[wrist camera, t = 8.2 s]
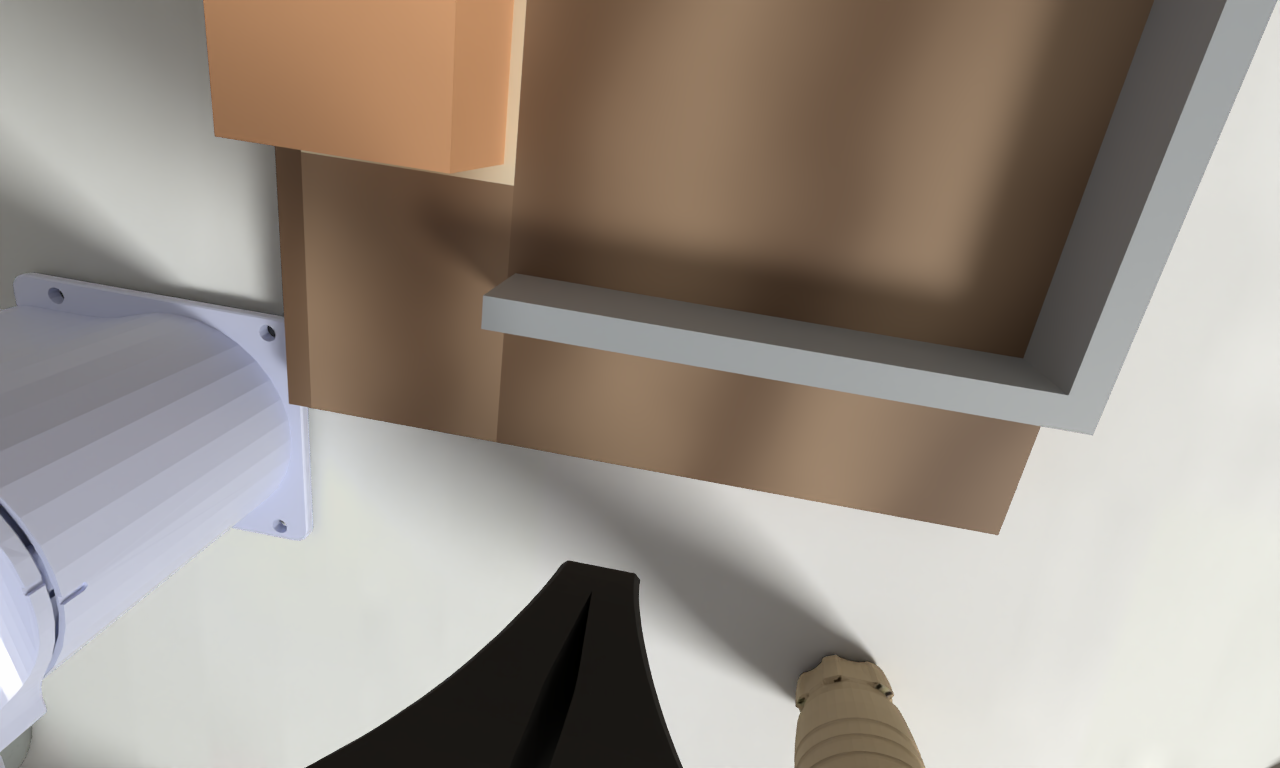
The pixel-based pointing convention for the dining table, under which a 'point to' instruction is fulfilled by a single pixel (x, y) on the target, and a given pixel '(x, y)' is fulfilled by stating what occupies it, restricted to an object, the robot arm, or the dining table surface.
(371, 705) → the dining table surface
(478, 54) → the block
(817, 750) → the handle
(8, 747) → the water bottle
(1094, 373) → the gray rectangular frame
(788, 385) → the board
